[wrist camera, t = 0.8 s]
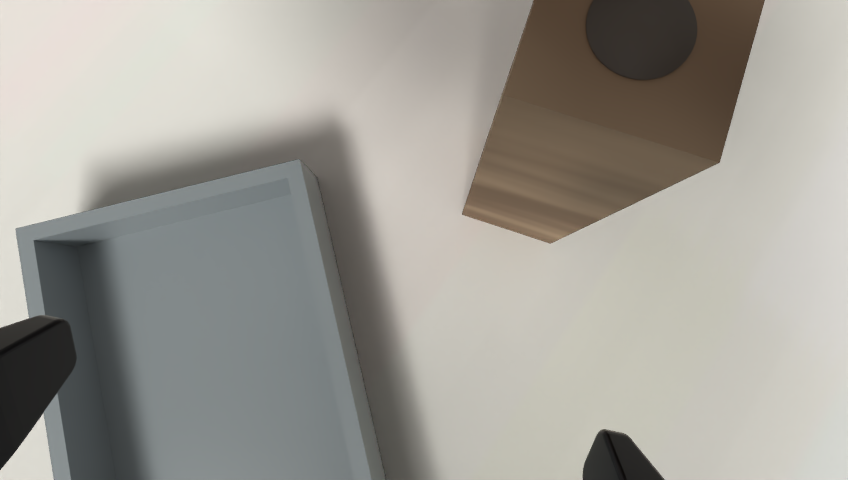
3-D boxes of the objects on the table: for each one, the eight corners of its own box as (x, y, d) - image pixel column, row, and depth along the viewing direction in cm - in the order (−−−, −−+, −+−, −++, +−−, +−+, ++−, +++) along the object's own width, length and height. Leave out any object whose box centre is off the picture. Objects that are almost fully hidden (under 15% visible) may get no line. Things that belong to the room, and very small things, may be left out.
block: (550, 243, 22) (721, 162, 9) (461, 214, 22) (503, 93, 9) (577, 157, 22) (777, -40, 9) (489, 129, 23) (568, -101, 10)
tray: (409, 582, 20) (405, 630, 17) (139, 651, 20) (89, 711, 17) (317, 177, 22) (299, 158, 19) (70, 238, 22) (15, 228, 19)
